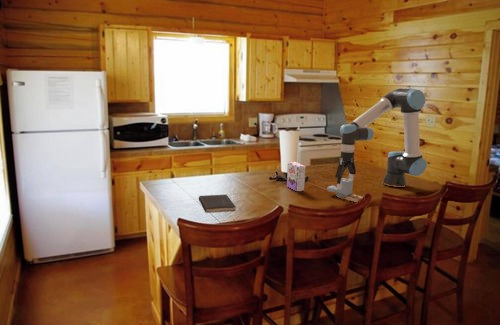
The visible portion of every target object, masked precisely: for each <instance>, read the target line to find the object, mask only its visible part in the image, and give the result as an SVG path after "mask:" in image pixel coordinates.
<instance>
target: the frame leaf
mask: <svg viewBox="0 0 500 325" xmlns="http://www.w3.org/2000/svg"><path fill="white" fill-rule="evenodd" d="M363 197H364V196H362V195H359V194H354V193H353V194H352V195H351V196H348V197H346V199H347V200H351V201H354V202H358V201H359V200H360V199H362V198H363Z"/></svg>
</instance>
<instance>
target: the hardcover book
mask: <svg viewBox="0 0 500 325" xmlns="http://www.w3.org/2000/svg"><path fill="white" fill-rule="evenodd" d="M198 200H199V203H200V204H201V206H202V208H203V210H204V212H218V211H219V212H221V211H235V210H236V208H237V207H236V205H235V204H234V202H233V201H232V200H231V198H230V197H229V196H228V195H227V194H211V195H209V194H208V195H207V194H206V195H199V196H198Z"/></svg>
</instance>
